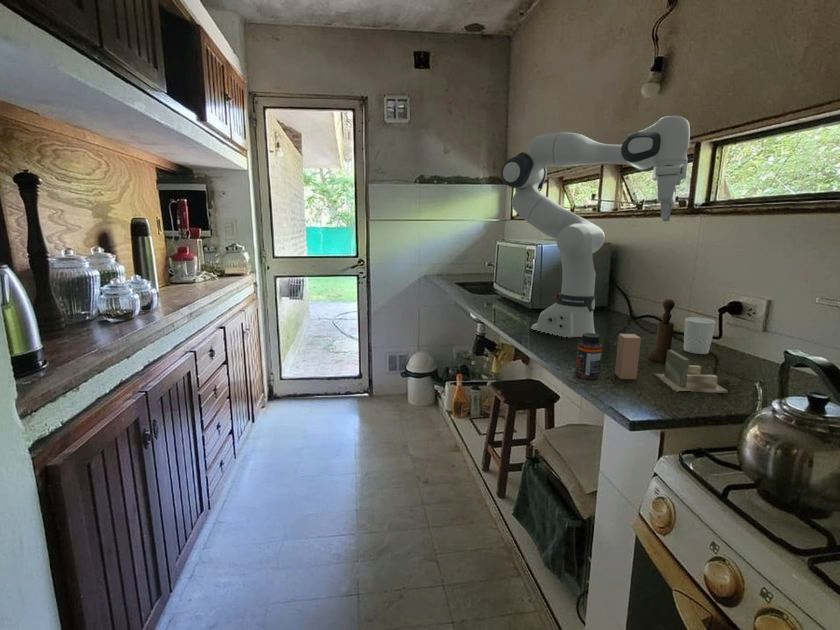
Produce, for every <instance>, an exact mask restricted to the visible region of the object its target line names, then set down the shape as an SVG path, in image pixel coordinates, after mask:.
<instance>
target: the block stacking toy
mask: <svg viewBox="0 0 840 630" xmlns="http://www.w3.org/2000/svg"><path fill="white" fill-rule="evenodd" d="M701 371H702V366H700V365H693V364H692V365H691V364H690V359H689V358H687V357H685V356H683V355H682V354H680V353H678V352H677V351H675V350H673V349H671V350H667V358H666V363H665V368H664V373H654V376H655V377H656V378H657V379H659V380H660V381H661V382H662V381H663V382H662V383H664V384H665V383H666V384H667V385H666V384H665V385H666V386H668V387H669V386H670V387H671V388H672V390H673V391H674V390H675V391H674V392H679V391H691V392H690V393H713V394H714V393H720V394H728V393H729V390H728V389H726V388H724V387H723V386H720V385H719V384H718V376H717V375H716V374H701ZM670 387H669V388H670ZM671 388H670V389H671Z"/></svg>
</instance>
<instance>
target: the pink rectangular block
mask: <svg viewBox="0 0 840 630" xmlns="http://www.w3.org/2000/svg"><path fill="white" fill-rule="evenodd" d="M617 337H618V338H617V350H616V358H615V367H614V368H615V369H614V374H615V375H616V377H618V378H619V379H620V380H637V377H638V369H639V361H640V359H639V358H640V349H641V341H642V337H640V336H638V335H637V334H635V333H618V336H617Z"/></svg>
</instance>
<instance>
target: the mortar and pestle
mask: <svg viewBox="0 0 840 630" xmlns="http://www.w3.org/2000/svg"><path fill="white" fill-rule="evenodd" d="M674 307H675V301H674V299H671V298H669V299H668V298H667V299H664V300H663V302H662V308H663V309H664V313H663V314H662V321H658V322H657V323H658V324H657V332H656V343H655V347H653V348H652V349H651V350H650V351H649V359H650V360H652V361H654V362H658V363H662V364H663V363H664V364H666V358H667V350H672V343H673V342H672V341H673V333H674V326H675V323H674V322H671V321H670V320H671V318H672V314H671V312H672V310H673V308H674Z"/></svg>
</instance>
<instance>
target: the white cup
mask: <svg viewBox="0 0 840 630" xmlns="http://www.w3.org/2000/svg"><path fill="white" fill-rule="evenodd" d="M715 326H716V321H715V320H714V319H710V318H703V317H695V316H694V317H691V316H690V317H686V318H685V321H684V329H683V330H684V333H683V335H684V336H683V351H685V352H686V353H691V354H694V355H695V354H697V355H708V354H709V352H710V347H711V345H712V341H713V337H714V332H715Z"/></svg>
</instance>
